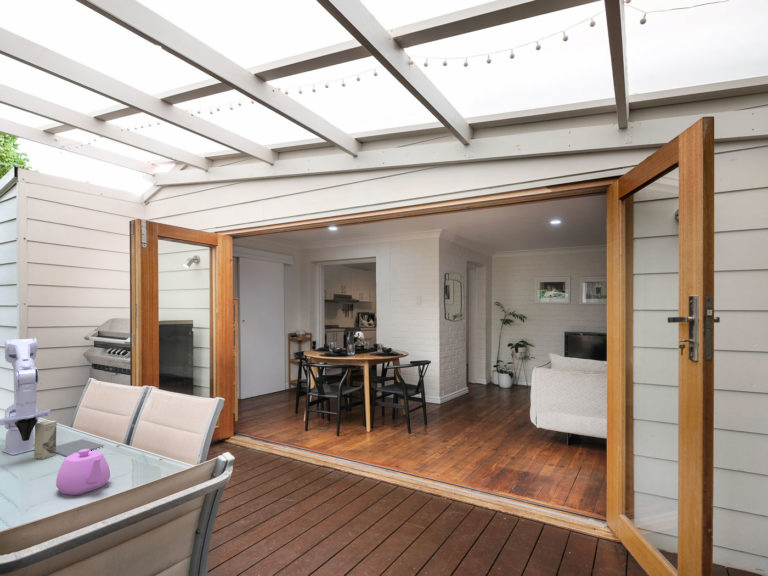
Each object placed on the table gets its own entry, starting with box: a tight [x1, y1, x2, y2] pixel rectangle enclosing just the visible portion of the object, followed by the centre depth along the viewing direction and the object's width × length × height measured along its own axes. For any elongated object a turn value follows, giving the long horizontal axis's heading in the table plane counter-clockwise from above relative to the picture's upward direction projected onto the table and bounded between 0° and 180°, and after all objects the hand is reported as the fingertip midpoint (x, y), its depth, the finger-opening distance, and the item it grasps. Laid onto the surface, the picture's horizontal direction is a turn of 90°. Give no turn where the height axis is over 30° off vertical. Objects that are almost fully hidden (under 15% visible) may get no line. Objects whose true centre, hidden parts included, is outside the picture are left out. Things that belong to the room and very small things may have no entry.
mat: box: [56, 438, 105, 458], centre depth 168 cm, size 17×13×1 cm
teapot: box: [55, 449, 111, 496], centre depth 131 cm, size 20×13×12 cm, turn 56°
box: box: [33, 419, 58, 460], centre depth 159 cm, size 5×4×13 cm
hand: (25, 440), depth 154 cm, fingers closed
